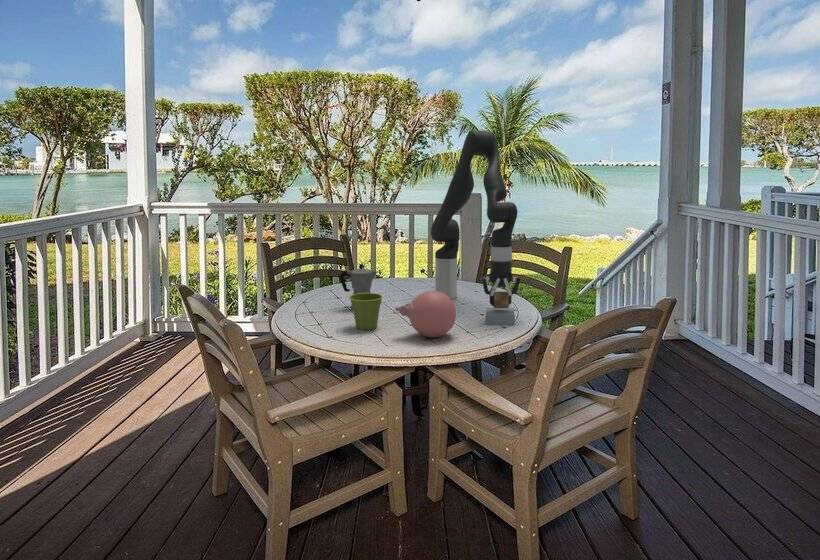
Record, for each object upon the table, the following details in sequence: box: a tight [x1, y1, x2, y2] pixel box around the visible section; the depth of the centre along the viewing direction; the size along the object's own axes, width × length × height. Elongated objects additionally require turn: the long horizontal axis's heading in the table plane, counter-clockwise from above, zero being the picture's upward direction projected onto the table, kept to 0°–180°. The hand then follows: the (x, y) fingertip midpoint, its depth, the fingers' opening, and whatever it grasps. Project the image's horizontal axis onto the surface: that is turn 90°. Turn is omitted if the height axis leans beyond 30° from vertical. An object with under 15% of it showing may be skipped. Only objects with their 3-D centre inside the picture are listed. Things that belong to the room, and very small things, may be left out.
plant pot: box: [348, 292, 384, 331], centre depth 206 cm, size 12×12×11 cm
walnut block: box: [492, 290, 510, 308], centre depth 213 cm, size 5×5×5 cm
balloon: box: [394, 290, 457, 338], centre depth 194 cm, size 15×20×15 cm
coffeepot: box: [338, 263, 379, 311], centre depth 232 cm, size 15×9×18 cm, turn 107°
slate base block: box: [485, 307, 516, 326], centre depth 214 cm, size 10×10×4 cm
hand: (500, 305), depth 213 cm, fingers closed on walnut block, 5 cm apart
